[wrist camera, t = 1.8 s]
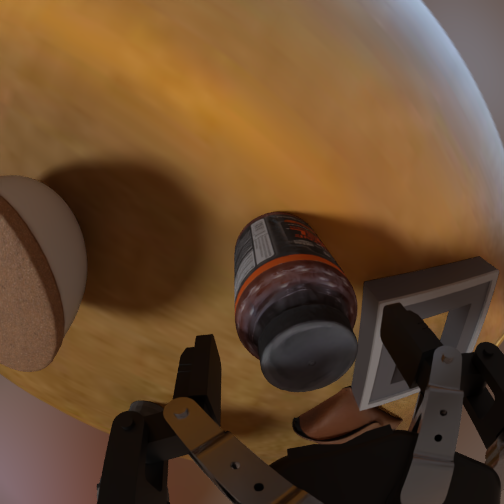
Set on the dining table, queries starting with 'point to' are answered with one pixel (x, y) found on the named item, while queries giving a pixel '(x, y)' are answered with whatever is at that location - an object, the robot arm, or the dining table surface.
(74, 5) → the dining table surface
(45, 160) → the dining table surface
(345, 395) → the sunglasses case
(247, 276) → the supplement bottle
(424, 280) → the holder block
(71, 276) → the lidded bowl
